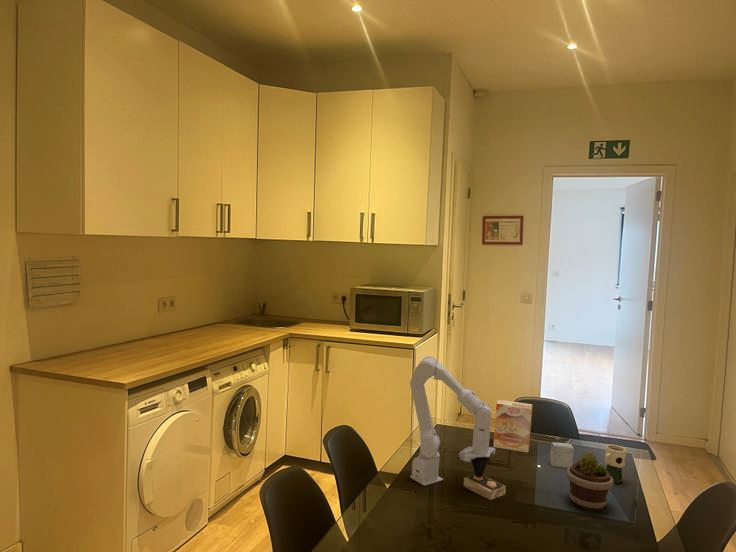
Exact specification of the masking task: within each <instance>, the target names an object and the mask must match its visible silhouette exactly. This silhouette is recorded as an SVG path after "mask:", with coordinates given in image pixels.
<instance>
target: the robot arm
mask: <svg viewBox="0 0 736 552" xmlns="http://www.w3.org/2000/svg"><path fill="white" fill-rule="evenodd" d="M432 377H433V379H432V380H435V381H441V382H443V383H444V384H445V385H446V386H447V387H448V388H449V389H451V391H452V392H453V393H455V394H456V395H457V397H458V399H457V400H458V402H459V403H460V404H461V405H462V407H464V408H465V409H466V410H467V411H468V412H469V413H470V414H471V415H473V418H474V419H473V420H474V425H473V432H472V433H473V434H472V450H471V451H469V452H468V453H467V454H464V460H466V461H470V460H471V462H472V463H471V464H472V467H473V472H474V473H473V474H475V476H476V477H478V478H481V477H482V475H483V476H484V473H485V469H486V467H487V465H488V463H490V461H491V459H490V457H491V455H496V447H493V446H490V437H491V421H492V409H491V407H490V406H489V404H487V403H486V402H485V401H482V400H481V399H480V398H479V397H478V396H477V394H476V391H474V390H471V389H470V388H464V387H463V386H462V385H461V384H460V382H458V380H457V379H456V378H455V377H454V376H453V375H452V374H451V372H449V371H448V369H446V367H445V366H444V365H443V364H442V363H440V362H438V361H437V359H436V358H435V357H433V356H425V357H424V358H423V359H422V360H421V361H420V362H419V363H418V364H417V366H416V367H415V368H414V371H413V373H412V376H411V378H410V381H409V386H410V389H411V395H412V399H413V404H414V408H415V413H416V418H417V422H418V423H417V424H418V426H419V432H420V433H419V439H420V446H419V450H420V451H419V454H418V456H416V457H415V458H413V460H412V465H411V475H410V476H409V478H410V479H412V480H413V481H416V482H417V483H419V484H421V485H423V486H429V485H432V484H435V483H439V482H441V481H443V480H444V478H443V477H441V476H439V470H440V469H439V467H440V456H441V455H440V452H439V447H440V445H441V438H440V437H439V435H438V434H437V432H436V429H435V427H434V424H433V420H432V419H433V418H432V414H431V410H430V405H429V401H428V397H427V396H428V395H427V393H426V392H427V391H426V388H425V384H426V382H427V381H428V380H429V379H431V378H432ZM466 461H465V462H466Z"/></svg>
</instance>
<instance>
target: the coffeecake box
mask: <svg viewBox="0 0 736 552" xmlns="http://www.w3.org/2000/svg"><path fill="white" fill-rule="evenodd" d="M495 408H496V409H495V419H494V431H493V433H494V434H493V443H492V444H493V445H492V447H493V448H495V449H496V448H497V449H504V450H509V451H515V452H516V451H517V452H521V453H529V451H530V450H529V449H530V441H531V440H530V439H531V428H532V416H533V414H532V413H533V404H531V403H526V402H517V401H511V400H505V399H504V400H503V399H497V400H496V407H495Z"/></svg>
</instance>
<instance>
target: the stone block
mask: <svg viewBox="0 0 736 552" xmlns="http://www.w3.org/2000/svg"><path fill="white" fill-rule="evenodd" d="M471 450H472V446H467V447H465V448H464V449H463V450H461V451H459V453H458V458H459V460H461V461H463V462H466V463H470V464H472V462H471V460H470V461H466V460H464V454H467V453H468V452H469V451H471Z"/></svg>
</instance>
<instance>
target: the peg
mask: <svg viewBox="0 0 736 552" xmlns="http://www.w3.org/2000/svg"><path fill="white" fill-rule="evenodd" d="M487 485H488V486H490V487H492V488H493V487H496V483H495V482H493V481H488V482H487Z"/></svg>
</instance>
